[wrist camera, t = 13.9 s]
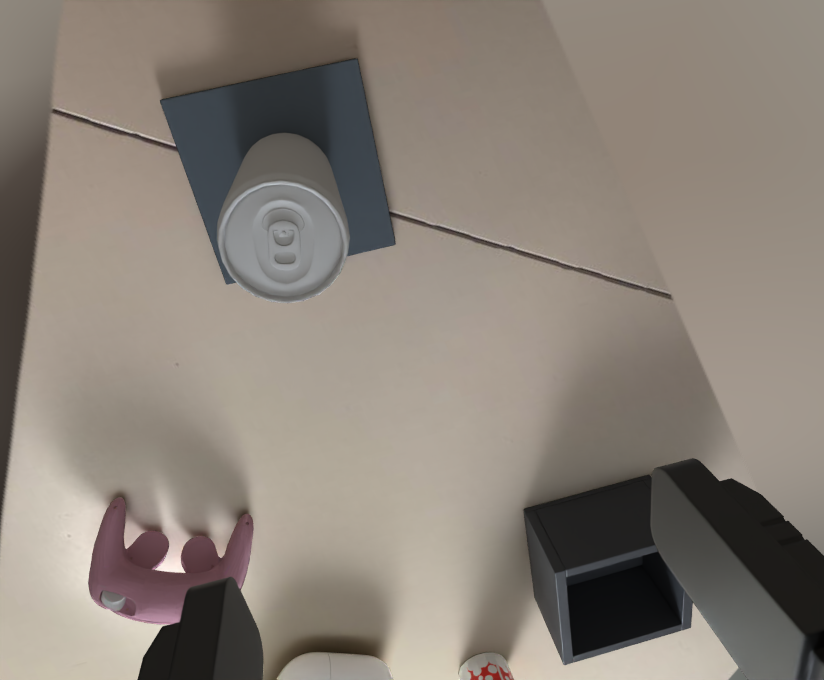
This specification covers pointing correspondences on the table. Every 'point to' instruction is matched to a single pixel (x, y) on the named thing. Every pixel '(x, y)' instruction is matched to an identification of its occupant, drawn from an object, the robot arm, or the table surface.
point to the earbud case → (335, 667)
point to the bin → (602, 572)
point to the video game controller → (134, 567)
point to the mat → (285, 113)
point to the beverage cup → (485, 668)
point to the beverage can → (283, 221)
